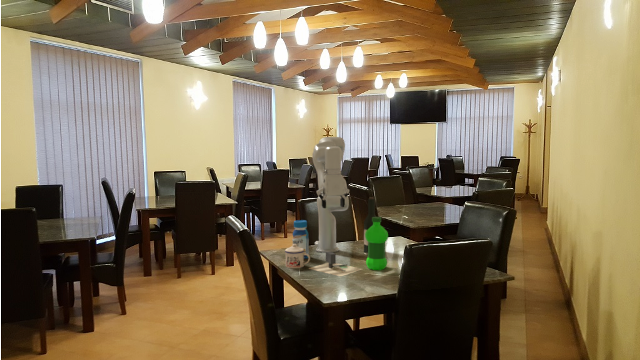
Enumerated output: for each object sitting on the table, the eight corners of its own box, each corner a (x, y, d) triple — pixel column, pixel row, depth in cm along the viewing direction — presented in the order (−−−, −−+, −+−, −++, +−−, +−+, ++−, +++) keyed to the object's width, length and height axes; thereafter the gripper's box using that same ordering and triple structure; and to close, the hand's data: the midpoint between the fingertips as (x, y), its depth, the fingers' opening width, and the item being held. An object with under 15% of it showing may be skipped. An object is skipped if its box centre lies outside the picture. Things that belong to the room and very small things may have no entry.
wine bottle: (362, 250, 257) (362, 196, 255) (377, 249, 258) (377, 196, 256) (365, 253, 249) (365, 198, 247) (380, 253, 250) (380, 198, 247)
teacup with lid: (283, 270, 217) (282, 246, 216) (287, 265, 226) (287, 242, 225) (308, 271, 215) (307, 246, 214) (311, 266, 224) (311, 242, 223)
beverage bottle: (312, 259, 237) (312, 220, 236) (300, 262, 231) (300, 223, 230) (300, 256, 243) (300, 219, 241) (289, 259, 237) (288, 221, 235)
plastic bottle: (387, 273, 210) (388, 219, 208) (364, 273, 211) (364, 219, 209) (388, 268, 219) (388, 216, 217) (365, 267, 221) (365, 215, 219)
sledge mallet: (330, 269, 213) (330, 254, 213) (325, 266, 219) (325, 251, 218) (349, 267, 217) (349, 252, 216) (344, 264, 222) (344, 249, 222)
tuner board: (308, 270, 215) (308, 268, 215) (330, 264, 227) (330, 261, 227) (340, 279, 202) (340, 276, 202) (363, 271, 214) (363, 268, 213)
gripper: (319, 173, 217) (319, 209, 218) (352, 172, 223) (352, 207, 225) (313, 172, 224) (314, 207, 225) (345, 171, 230) (346, 205, 232)
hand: (333, 207), depth 225 cm, fingers open, 9 cm apart
